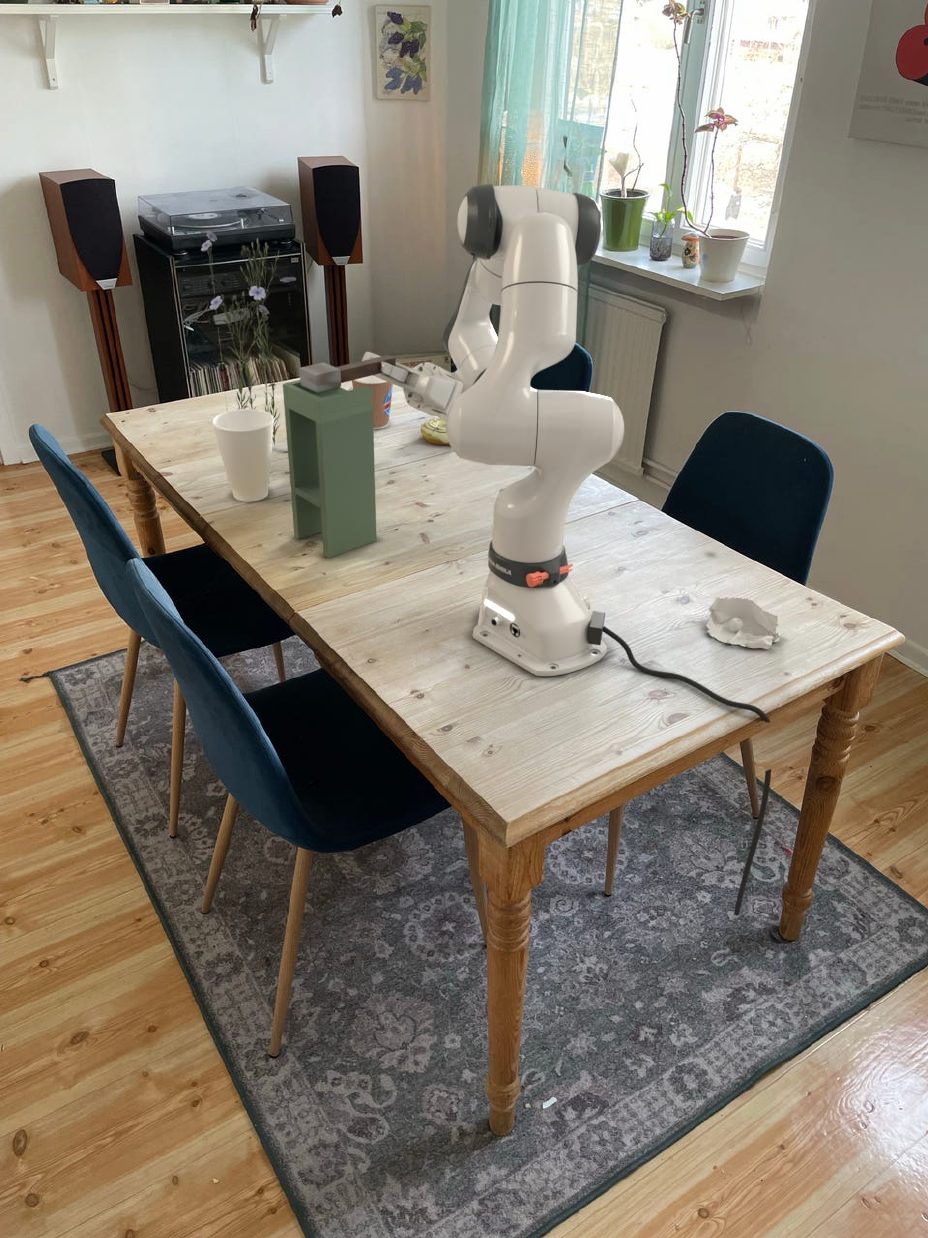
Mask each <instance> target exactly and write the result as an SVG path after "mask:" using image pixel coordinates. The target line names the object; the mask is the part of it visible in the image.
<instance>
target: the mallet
mask: <svg viewBox="0 0 928 1238" xmlns="http://www.w3.org/2000/svg"><path fill="white" fill-rule="evenodd" d="M380 356H381V357H377V358H372V359H368V360H364V361H362V360H361V361H356V362H351V363H347V364H344V365H339V366H336V367H335V366H333V365H330V364H328V363H326V362H320V363H315V364H310V365H306V366H302V367H299V368H298V369H299V371H298V372H299V380H300V385H302V386H304V387H306V388H308V389H310V390H313V391H315V392H321V391H325V390H329V389H333V388H337V387H341V388H342V384H344V383H348V382H352V380H356V379H360V378H364V377H368V376H372V375H376V374H380V373H383V372H381V371H379V370H378V367H379V366H380V362H381V361H383V362H386V363H389V364H391V365H393V366H396V362H397V358H396V357H395V356H392V355H390V354H385V355H380Z"/></svg>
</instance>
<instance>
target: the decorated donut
mask: <svg viewBox="0 0 928 1238" xmlns="http://www.w3.org/2000/svg"><path fill="white" fill-rule="evenodd" d="M420 433H421V435H422V437H423V438H424V440H426V441H427V442H428V443H430V444H433V445H443V446H450V444H449V441H448V438H447V433H446V422H445V421H443V420H441V419H440V418H439V417H433V418H430V419H428V420H426V421H424V422H423V423H422V424H421V425H420Z"/></svg>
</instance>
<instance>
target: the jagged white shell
mask: <svg viewBox="0 0 928 1238" xmlns="http://www.w3.org/2000/svg"><path fill="white" fill-rule="evenodd" d="M708 611H709V613H710V614H709V616H708V620H707V624H706V625H705V627H706V628H707V633H708V635H709V636H710V637H712V638H714V639H715V640H717V641H719V642H721V643H723V644H730V645H736V646H737V645H738V646H741V647H745V648H749V649H759V648H760V649H764V650H769V649H770V648H771V647H772V644H773V643H777V642H779V641H780V639H781V638H782V637H781V634H780V633H779V632H778V631H777V628H778V627H779V623H778V622H779V621H778V615H775V614H772V613H771V612H769V611H766V610H764V609H762V607H761V606H759V605H757V604H756V602H755V601H754V600H752V599H748V598H742V597H740V598H739V597H722V598H720V597H719V596H718V597H715V600H714V601H713V602H712V603H711V604H710V605H709V607H708Z"/></svg>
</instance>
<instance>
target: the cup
mask: <svg viewBox="0 0 928 1238" xmlns="http://www.w3.org/2000/svg"><path fill="white" fill-rule="evenodd" d="M273 417H274V416H272V415H271V412H270V413H269V412H268V413H267V412H266V411H265V410H260V409H255V410H254V408H253V409H251V408H245V409H244V408H242V409H241V408H240V409H239V408H238V410H237V409H233V410H228V411H227V410H226V411H224V412H221V413H219V414H217V415H216V416H214V417H213V418H212V421H211V424H212V426H213V429H214V432H215V436H216V441H217V444H218V449H219V453H220V456H221V460H222V463H223V466H224V470H225V475H226V478H227V482H228V485H229V486H230V488H231V491H232V496H233V498H234V499H235V500H237V501H239V502H244V503H251V502H252V503H253V502H258V501H261V500H264V499H265V498H267V497H268V494H269V485H270V482H271V471H272V470H271V469H272V456H273V455H272V452H273V440H272V439H273V438H274V435H273V432H274V427H273V425H274V424H275V422H274V421H275V417H274V418H273ZM273 423H274V424H273Z"/></svg>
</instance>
